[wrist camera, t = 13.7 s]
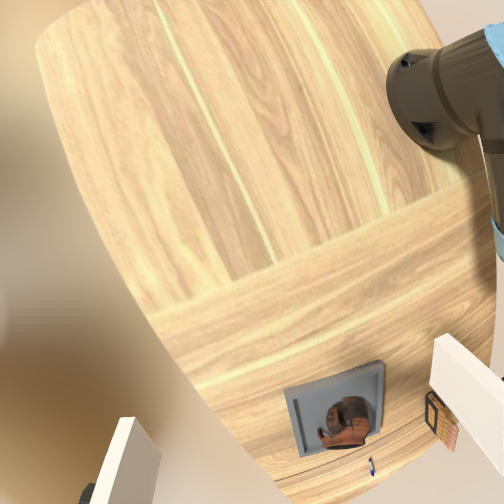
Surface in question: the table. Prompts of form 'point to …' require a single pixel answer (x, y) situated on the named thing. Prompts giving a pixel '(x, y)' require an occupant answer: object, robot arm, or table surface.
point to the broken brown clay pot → (345, 433)
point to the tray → (333, 403)
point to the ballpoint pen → (371, 467)
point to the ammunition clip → (440, 420)
